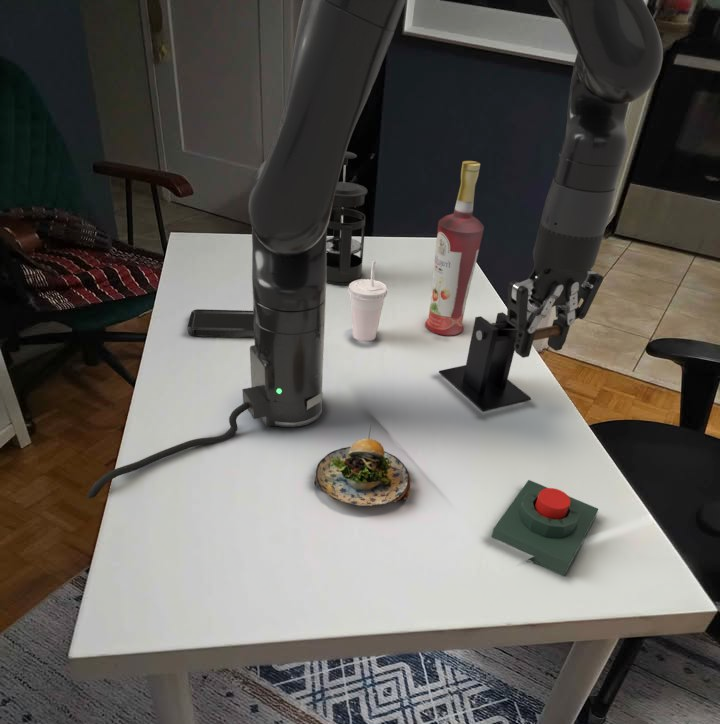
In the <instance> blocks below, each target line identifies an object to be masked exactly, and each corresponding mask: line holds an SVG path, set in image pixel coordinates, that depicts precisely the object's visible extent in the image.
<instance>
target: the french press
mask: <svg viewBox="0 0 720 724" xmlns="http://www.w3.org/2000/svg"><path fill="white" fill-rule="evenodd" d="M357 157H358V155H357V154H356V153H354V152H351V151H346V154H345V157H344V161H343V165H342V166H343V174H342V178H343V179H342V181H338V184H337V188H336V192H335V197H334V201H333V205H332V210H331V214H330V216H333V221H331V220H329V223H328V226H327V229H331V230H333V233H332V234H333V236H329V237H327V243H326V284H328V285H335V286H349V284H350V283H351V282H353V281H355V280H360V279H363V273H362V272H363V257H364V244H365V231H366V215H365V214H364V213H363V212H361V211H359V210H356V209H353V208H356V207H357V208H358V207H360V206H362V205H364V204H365V200H366V199H365V197H366V195H368V189H367V188H366V187H365V186H364V185H361V184H358V183H354V182H347V181H346V172H347V171H346V170H347V169H346V168H347V166H348V163H349V162H348V161H349V160H352V159H356V158H357ZM350 208H351V209H350ZM344 216H347V217H352V218H354V219H358V220H360V221H355V222H344ZM360 229H361V237H360V241H358V240H356V239H354V238H353V231H356V230H360ZM357 253H359V256H358V255H357Z"/></svg>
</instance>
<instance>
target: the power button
mask: <svg viewBox="0 0 720 724" xmlns="http://www.w3.org/2000/svg"><path fill="white" fill-rule="evenodd" d="M569 497H570V495H568V494H567V493H566V492H564V491H563V490H561V489H558V488H553V487H547V488H546V489H543V490H541V491H540V492H539V495H538V498H537V501H536V504H535V508H536V511H537V512H538V513H539V514H540V515H542V516H544V517H547V518H549V519H557V520H560V519H562V518H564V517H565V516H566V514H567V511H568V508H569V506H570V498H569Z"/></svg>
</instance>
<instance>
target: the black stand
mask: <svg viewBox="0 0 720 724" xmlns="http://www.w3.org/2000/svg"><path fill="white" fill-rule="evenodd" d="M495 323H507V328H510V329H517V328H515V327H514V326H512V325H511V324H510V323H508V322H507V313H505V312H498V313H497V314H496V319H495ZM498 330H499V329H498V328H496V327H495V326H493V325H492V323H491V322H489V321H488V320H487V319H486V318H484V317H483V316H481V315H479V316H475V317H474V322H473V327H472V332H471V337H470V342H469V348H468V353H467V357H466V363H465V365H459V366H455V367H450V368H445V369H441V370H438V373H439V374H440V375H441V376H442V377H443V378H444V379H445V380H446V381H447V382H448V383H450V384H451V385H452V386H453V387H454V388H455V389H456V390H457V391H458V392H460V393H461V394H462V395H463V396H464V397H466V399H468V401H470V402H471V403H472V404H473V405H474V406H475V407H476V408H478V409H479V410H480V411H481V412H482V413H483V412H488V411H492V410H495V409H500V408H504V407H508V406H511V405H516V404H520V403H523V402H528V401H531V400H532V398H531V396H529V394H527V393H526V392H524V391H523V390H522V389H521V388H519V387H518V386H516V384H514V383H513V382H511V380H509V379H508V378H509V374H510V371H511V368H512V367H511V366H512V362H513V358H514V354H515V350H514V344H515V340H516V337H508V340H503V341H498V342H496V339H497V335H498Z"/></svg>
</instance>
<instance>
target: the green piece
mask: <svg viewBox="0 0 720 724" xmlns="http://www.w3.org/2000/svg"><path fill="white" fill-rule="evenodd" d="M546 488H548V486H545V485H542V484H540V483H538V482H535V481H533V480H531V479H528V480H527V481H526V482H525V484H524V486H523V487H522V488H521V489H520V491H519V492H518V494H517V495H516V497H515V498H514V500H513V501H512V502H511V503H510V505H509V506H508V508H507V509H506V511H504V513H503V515H502V516H501V517H500V519H499V520H498V522H497V523H496V525H495V526H494V527H493V529H492V533H491V538H493V539H495V540H497V541H500V542H502V543H504V544H506V545H509V546H511V547H513V548H515V549H517V550H519V551H521V552H523V553H526V554H528V555H530V556H532V557H530V558H528V559H527V561H530V562H532V563H535V564H537V565H539V566H541V567H543V568H545V569H548V570H550V571H552V572H553V573H556V574H558V575H561V576H563V577H565V576H566V574H567V573H568V570H569V568H570V566H571V565H572V563H573V561H574V559H575V557H576V556H577V553H578V551H579V550H580V548H581V546H582V544H583V542H584V541H585V537H586V535H587V533H588V532H589V529H590V528H591V526H592V524H593V523H594V520H595V519H596V517H597V514H598V511H599V508H598V507H596V506H593V505H591V504H588V503H585V502H583V501H581V500H579V499H576V498H574V497H571V496H569V498H570V506H569V508H568V511H567V514H566V516H565V517H564V518H562V519H560V520H557V519H549V518H547V517H544V516H542V515H540V514H539V513H538V512H537V511H536V508H535V504H536V501H537V498H538V495H539V492H540V491H541V490H543V489H546Z"/></svg>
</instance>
